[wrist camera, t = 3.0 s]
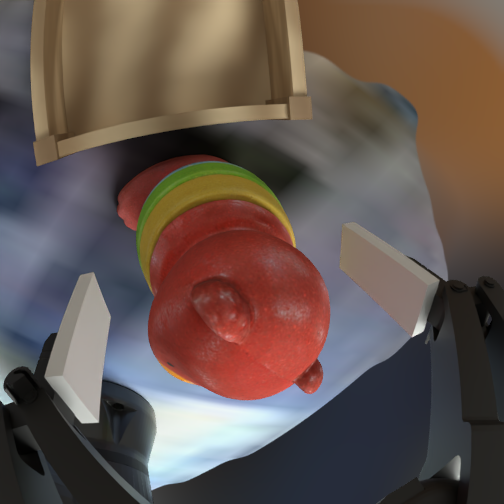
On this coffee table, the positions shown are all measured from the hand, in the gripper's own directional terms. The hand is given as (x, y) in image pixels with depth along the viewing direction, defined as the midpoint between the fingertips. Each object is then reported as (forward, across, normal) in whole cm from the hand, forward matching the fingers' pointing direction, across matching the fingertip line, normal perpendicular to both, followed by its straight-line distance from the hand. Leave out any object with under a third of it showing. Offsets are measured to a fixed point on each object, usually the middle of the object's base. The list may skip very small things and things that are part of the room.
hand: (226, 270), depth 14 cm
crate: (+11, -2, +16) cm, 19 cm away
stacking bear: (+11, 0, 0) cm, 11 cm away
